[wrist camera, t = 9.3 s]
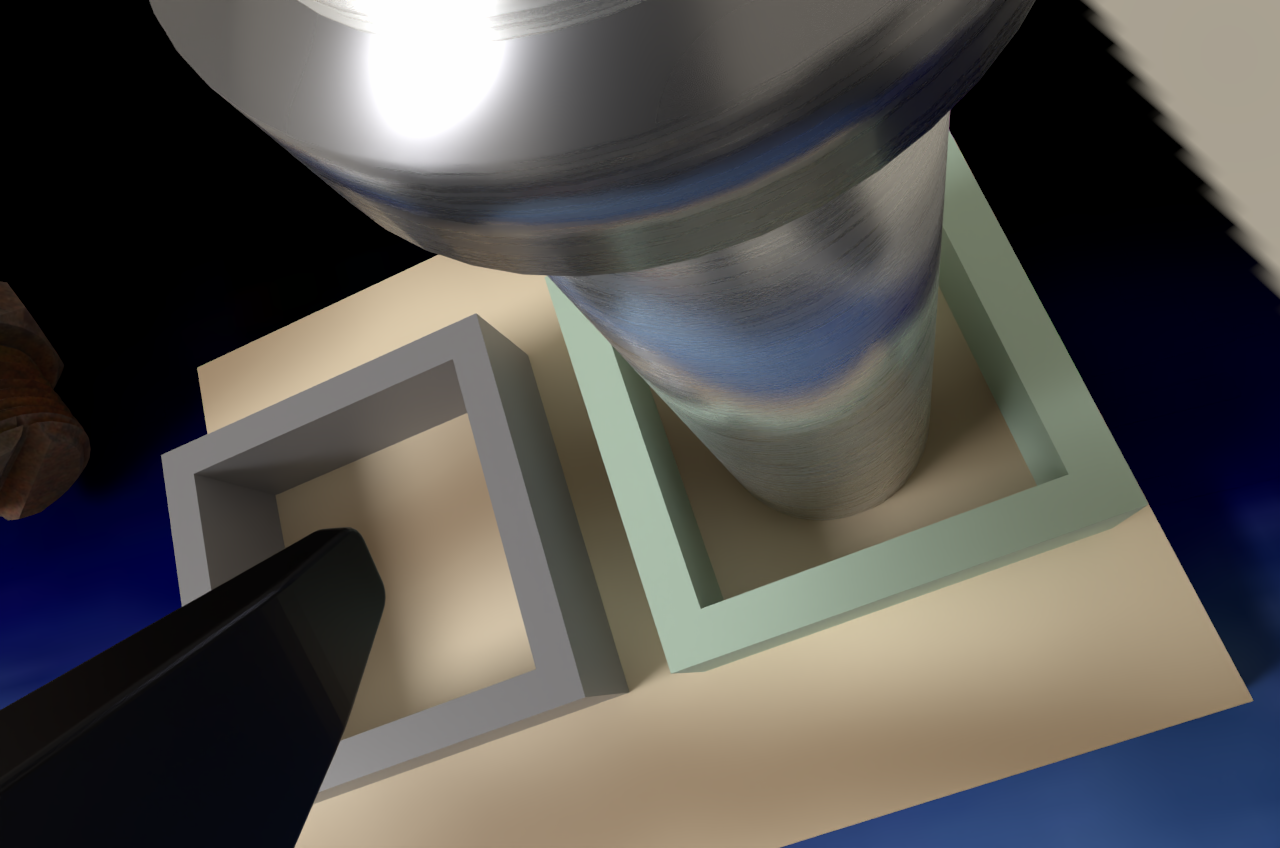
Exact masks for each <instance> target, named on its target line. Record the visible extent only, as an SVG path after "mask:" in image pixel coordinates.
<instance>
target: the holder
mask: <svg viewBox="0 0 1280 848" xmlns="http://www.w3.org/2000/svg"><path fill="white" fill-rule="evenodd" d="M466 413H467V414H468V418H469V421H470V425H471V429H472V433H473V436H474V440H475V444H476V447H477V451H478V455H479V459H480V462H481V466H482V470H483V473H484V477H485V481H486V485H487V488H488V492H489V496H490V500H491V503H492V507H493V511H494V514H495V518H496V522H497V526H498V529H499V533H500V537H501V540H502V544H503V548H504V552H505V555H506V559H507V563H508V567H509V570H510V574H511V578H512V581H513V585H514V589H515V593H516V596H517V600H518V604H519V608H520V611H521V615H522V619H523V622H524V626H525V630H526V634H527V637H528V641H529V645H530V648H531V652H532V656H533V660H534V663H535V667H536V669H535V670H532V671H530V672H527V673H524V674H521V675H519V676H516V677H513V678H511V679H508V680H505V681H502V682H500V683H497V684H494V685H491V686H489V687H486V688H483V689H480V690H478V691H475V692H472V693H470V694H467V695H464V696H461V697H459V698H456V699H453V700H450V701H448V702H445V703H442V704H439V705H437V706H434V707H431V708H429V709H426V710H423V711H420V712H418V713H415V714H412V715H409V716H407V717H404V718H401V719H399V720H396V721H393V722H390V723H388V724H385V725H382V726H379V727H377V728H374V729H371V730H368V731H366V732H363V733H360V734H358V735H355V736H352V737H349V738H347V739H344V740H341V741H340V743H339V746H338V748H337V751H336V753H335V755H334V758H333V760H332V762H331V764H330V767H329V769H328V771H327V774H326V776H325V778H324V781H323V783H322V785H321V788H320V790H319V792H318V795H317V797H316V799H315V801H314V804H316V803H318V802H321V801H324V800H327V799H330V798H333V797H335V796H338V795H341V794H344V793H347V792H350V791H352V790H355V789H358V788H361V787H364V786H367V785H369V784H372V783H375V782H378V781H381V780H384V779H386V778H389V777H392V776H395V775H398V774H400V773H403V772H406V771H409V770H412V769H415V768H417V767H420V766H423V765H426V764H429V763H432V762H434V761H437V760H440V759H443V758H446V757H449V756H451V755H454V754H457V753H460V752H463V751H466V750H468V749H471V748H474V747H477V746H480V745H483V744H485V743H488V742H491V741H494V740H497V739H499V738H502V737H505V736H508V735H511V734H514V733H516V732H519V731H522V730H525V729H528V728H531V727H533V726H536V725H539V724H542V723H545V722H548V721H550V720H553V719H556V718H559V717H562V716H565V715H567V714H570V713H573V712H576V711H579V710H582V709H584V708H587V707H590V706H593V705H596V704H599V703H601V702H604V701H607V700H610V699H613V698H615V697H618V696H621V695H624V694H627V693H630V692H629V688H628V685H627V682H626V679H625V675H624V672H623V669H622V665H621V662H620V659H619V655H618V652H617V649H616V645H615V642H614V639H613V635H612V632H611V629H610V625H609V622H608V619H607V615H606V612H605V609H604V606H603V602H602V599H601V596H600V592H599V589H598V586H597V582H596V579H595V576H594V572H593V569H592V566H591V562H590V559H589V556H588V552H587V549H586V546H585V542H584V539H583V536H582V533H581V529H580V526H579V523H578V519H577V516H576V513H575V509H574V506H573V503H572V499H571V496H570V493H569V489H568V486H567V483H566V479H565V476H564V473H563V469H562V466H561V463H560V460H559V456H558V453H557V450H556V446H555V443H554V440H553V436H552V433H551V430H550V426H549V423H548V420H547V416H546V413H545V410H544V406H543V403H542V400H541V396H540V393H539V390H538V387H537V383H536V380H535V377H534V373H533V370H532V367H531V363H530V360H529V357H528V355H527V354H526V353H525V352H524V351H522V350H521V349H520V348H519V347H518V346H516V345H515V344H514V343H513V342H511V341H510V340H509V339H508V338H506V337H505V336H504V335H503V334H501V333H500V332H499V331H498V330H496V329H495V328H494V327H493V326H491V325H490V324H489V323H488V322H487V321H485V320H484V319H483V318H482V317H480V316H479V315H478V314H477V313H475V314H473V315H471V316H469V317H466V318H464V319H462V320H460V321H458V322H455V323H453V324H451V325H449V326H447V327H444V328H442V329H440V330H438V331H435V332H433V333H431V334H429V335H427V336H424V337H422V338H420V339H418V340H415V341H413V342H411V343H409V344H407V345H404V346H402V347H400V348H398V349H396V350H393V351H391V352H389V353H387V354H384V355H382V356H380V357H378V358H376V359H373V360H371V361H369V362H367V363H364V364H362V365H360V366H358V367H356V368H353V369H351V370H349V371H347V372H345V373H342V374H340V375H338V376H336V377H333V378H331V379H329V380H327V381H325V382H322V383H320V384H318V385H316V386H313V387H311V388H309V389H307V390H305V391H302V392H300V393H298V394H296V395H294V396H291V397H289V398H287V399H285V400H282V401H280V402H278V403H276V404H274V405H271V406H269V407H267V408H265V409H262V410H260V411H258V412H256V413H254V414H251V415H249V416H247V417H245V418H243V419H240V420H238V421H236V422H234V423H231V424H229V425H227V426H225V427H223V428H220V429H218V430H216V431H214V432H211V433H209V434H207V435H205V436H203V437H200V438H198V439H196V440H194V441H192V442H189V443H187V444H185V445H183V446H180V447H178V448H176V449H174V450H172V451H169V452H167V453H165V454H163V455H161V457H162V464H163V472H164V479H165V486H166V494H167V501H168V508H169V515H170V523H171V530H172V537H173V544H174V552H175V559H176V566H177V573H178V581H179V588H180V595H181V602H182V607H183V606H184V605H186V604H188V603H190V602H191V601H193V600H195V599H197V598H198V597H200V596H202V595H204V594H206V593H207V592H209V591H211V590H213V589H214V588H216V587H218V586H220V585H221V584H223V583H225V582H227V581H228V580H230V579H232V578H234V577H235V576H237V575H239V574H241V573H242V572H244V571H246V570H248V569H249V568H251V567H253V566H255V565H256V564H258V563H260V562H262V561H264V560H265V559H267V558H269V557H271V556H272V555H274V554H276V553H278V552H279V551H281V550H283V549H285V545H284V540H283V534H282V529H281V523H280V518H279V512H278V507H277V501H276V496H275V495H277V494H280V493H282V492H284V491H287V490H289V489H291V488H294V487H296V486H298V485H301V484H303V483H305V482H308V481H310V480H312V479H314V478H317V477H319V476H321V475H324V474H326V473H328V472H331V471H333V470H335V469H338V468H340V467H342V466H345V465H347V464H349V463H352V462H354V461H356V460H359V459H361V458H363V457H366V456H368V455H370V454H373V453H375V452H377V451H380V450H382V449H384V448H387V447H389V446H391V445H394V444H396V443H398V442H401V441H403V440H405V439H408V438H410V437H412V436H415V435H417V434H419V433H422V432H424V431H426V430H429V429H431V428H433V427H436V426H438V425H440V424H443V423H445V422H447V421H450V420H452V419H454V418H457V417H459V416H461V415H464V414H466Z"/></svg>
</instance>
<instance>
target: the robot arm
mask: <svg viewBox="0 0 1280 848" xmlns="http://www.w3.org/2000/svg"><path fill="white" fill-rule="evenodd" d="M385 600H386V594H385V588H384V584H383V581H382V579H381V577H380V574H379V572H378V570H377V568H376V565H375V563H374V561H373V559H372V556H371V554H370V552H369V549H368V547H367V545H366V543H365V540H364V538H363V537H362V535H361V534H360V533H359V532H358V531H357V530H356V529H354V528H352V527H339V528H326V529H320V530H317V531H315V532H313V533H311V534H309V535H307V536H306V537H304V538H302V539H300V540H299V541H297V542H295V543H293V544H292V545H290V546H288V547H286V548H285V549H283V550H281V551H279V552H278V553H276V554H274V555H272V556H271V557H269V558H267V559H265V560H264V561H262V562H260V563H258V564H256V565H255V566H253V567H251V568H249V569H248V570H246V571H244V572H242V573H241V574H239V575H237V576H235V577H234V578H232V579H230V580H228V581H227V582H225V583H223V584H221V585H220V586H218V587H216V588H214V589H213V590H211V591H209V592H207V593H206V594H204V595H202V596H200V597H198V598H197V599H195V600H193V601H191V602H190V603H188V604H186V605H184V606H183V607H181V608H179V609H177V610H176V611H174V612H172V613H170V614H169V615H167V616H165V617H163V618H162V619H160V620H158V621H156V622H155V623H153V624H151V625H149V626H148V627H146V628H144V629H142V630H140V631H139V632H137V633H135V634H133V635H132V636H130V637H128V638H126V639H125V640H123V641H121V642H119V643H118V644H116V645H114V646H112V647H111V648H109V649H107V650H105V651H104V652H102V653H100V654H98V655H97V656H95V657H93V658H91V659H90V660H88V661H86V662H84V663H82V664H81V665H79V666H77V667H75V668H74V669H72V670H70V671H68V672H67V673H65V674H63V675H61V676H60V677H58V678H56V679H54V680H53V681H51V682H49V683H47V684H46V685H44V686H42V687H40V688H39V689H37V690H35V691H33V692H32V693H30V694H28V695H26V696H24V697H23V698H21V699H19V700H17V701H16V702H14V703H12V704H10V705H9V706H7V707H5V708H3V709H2V710H0V848H295V845H296V843H297V841H298V838H299V836H300V834H301V831H302V829H303V827H304V825H305V822H306V820H307V818H308V815H309V813H310V811H311V808H312V806H313V804H314V801H315V799H316V797H317V795H318V792H319V790H320V788H321V785H322V783H323V781H324V778H325V776H326V774H327V771H328V769H329V767H330V764H331V762H332V760H333V758H334V755H335V753H336V751H337V748H338V746H339V743H340V741H341V738H342V736H343V733H344V731H345V728H346V725H347V722H348V720H349V717H350V714H351V711H352V708H353V705H354V702H355V699H356V696H357V692H358V689H359V686H360V683H361V680H362V677H363V674H364V671H365V667H366V664H367V661H368V658H369V655H370V652H371V649H372V645H373V642H374V639H375V636H376V633H377V630H378V627H379V624H380V620H381V617H382V614H383V611H384V607H385Z"/></svg>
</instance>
